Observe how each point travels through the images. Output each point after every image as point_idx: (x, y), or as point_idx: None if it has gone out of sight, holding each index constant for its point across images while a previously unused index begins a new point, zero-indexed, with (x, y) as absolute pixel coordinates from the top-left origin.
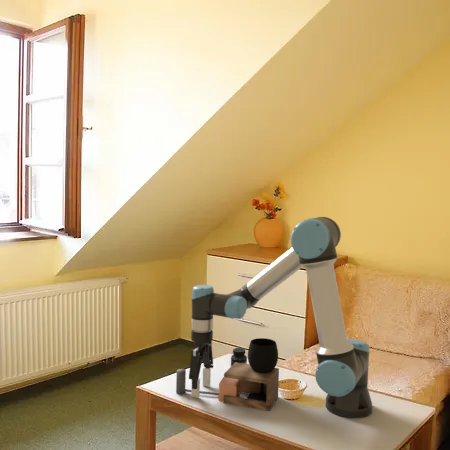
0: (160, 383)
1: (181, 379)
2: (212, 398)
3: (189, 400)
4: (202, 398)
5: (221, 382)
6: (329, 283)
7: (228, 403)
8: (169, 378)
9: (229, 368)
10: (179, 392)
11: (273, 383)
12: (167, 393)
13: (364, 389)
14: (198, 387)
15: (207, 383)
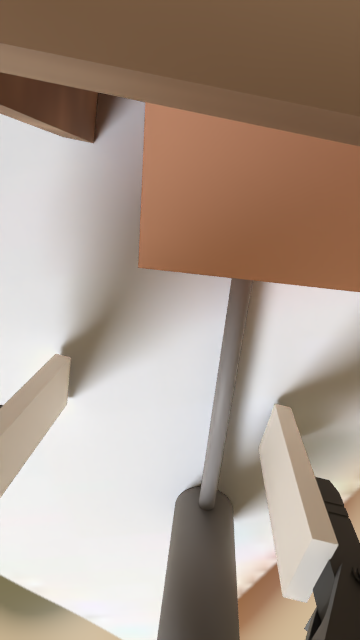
0: (99, 599)
1: (237, 622)
2: (275, 309)
3: (323, 454)
4: (282, 379)
5: (346, 267)
6: None
7: None
8: (18, 570)
9: (294, 88)
10: (233, 524)
11: None
12: None
13: None
14: (309, 470)
15: (59, 384)
